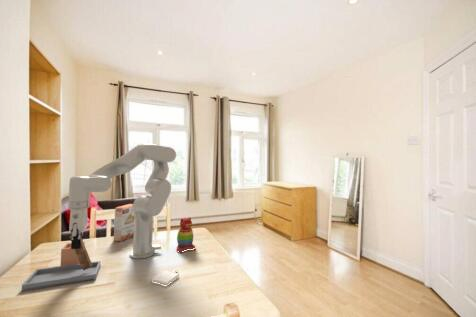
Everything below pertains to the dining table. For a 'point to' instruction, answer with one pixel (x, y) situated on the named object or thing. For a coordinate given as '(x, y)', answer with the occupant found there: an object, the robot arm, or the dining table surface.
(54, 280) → the grey tray
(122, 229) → the cracker box
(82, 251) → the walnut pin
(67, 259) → the square clay planter
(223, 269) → the dining table surface
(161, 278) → the perfume bottle
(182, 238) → the stacking bear
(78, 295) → the dining table surface
